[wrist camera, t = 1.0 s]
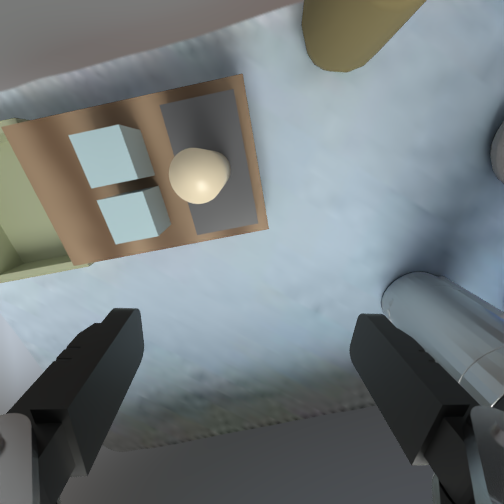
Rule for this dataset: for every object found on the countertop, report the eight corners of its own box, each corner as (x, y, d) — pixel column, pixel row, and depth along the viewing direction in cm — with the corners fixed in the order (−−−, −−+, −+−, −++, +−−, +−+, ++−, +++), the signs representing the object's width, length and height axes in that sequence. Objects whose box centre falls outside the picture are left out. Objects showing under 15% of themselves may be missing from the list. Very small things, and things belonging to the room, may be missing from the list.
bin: (47, 123, 26) (14, 117, 23) (106, 253, 32) (88, 266, 29) (-53, 145, 27) (-101, 143, 23) (23, 269, 33) (-5, 283, 29)
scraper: (234, 96, 21) (226, 43, 11) (257, 217, 25) (265, 256, 15) (168, 110, 21) (103, 71, 11) (201, 227, 25) (174, 273, 15)
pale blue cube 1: (140, 130, 22) (118, 124, 18) (155, 175, 23) (138, 178, 19) (98, 139, 22) (68, 135, 18) (115, 183, 23) (91, 188, 20)
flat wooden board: (242, 91, 26) (242, 73, 20) (264, 215, 31) (268, 228, 25) (51, 133, 27) (0, 126, 21) (103, 247, 32) (73, 266, 26)
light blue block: (158, 185, 23) (142, 191, 20) (171, 224, 25) (158, 236, 21) (119, 193, 24) (96, 200, 20) (134, 231, 25) (115, 244, 21)
